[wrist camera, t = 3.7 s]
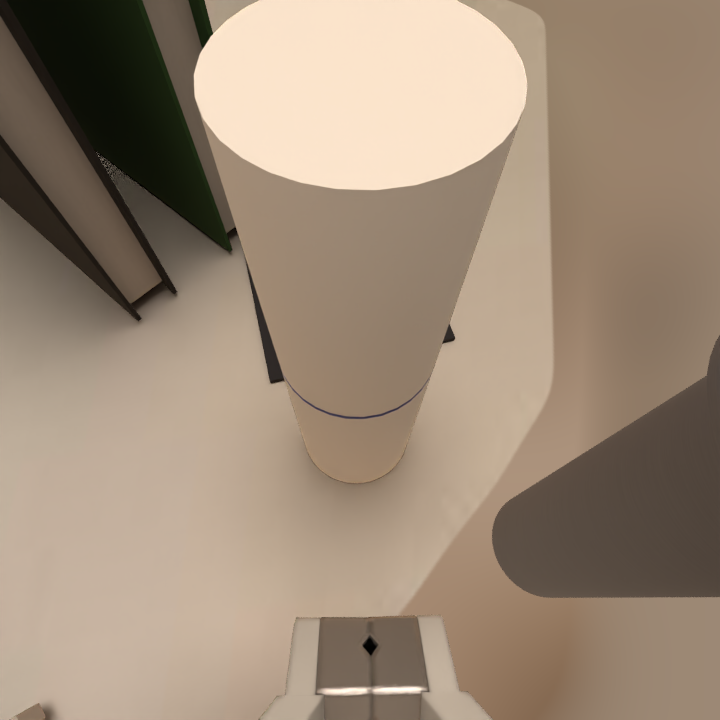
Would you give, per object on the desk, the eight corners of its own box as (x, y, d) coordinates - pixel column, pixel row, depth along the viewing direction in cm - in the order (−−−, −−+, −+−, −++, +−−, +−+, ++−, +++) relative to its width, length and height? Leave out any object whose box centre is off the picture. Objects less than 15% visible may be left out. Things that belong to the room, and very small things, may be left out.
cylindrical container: (283, 450, 32) (121, 109, 10) (337, 367, 35) (306, -48, 12) (377, 503, 31) (443, 245, 8) (425, 411, 33) (571, 33, 11)
